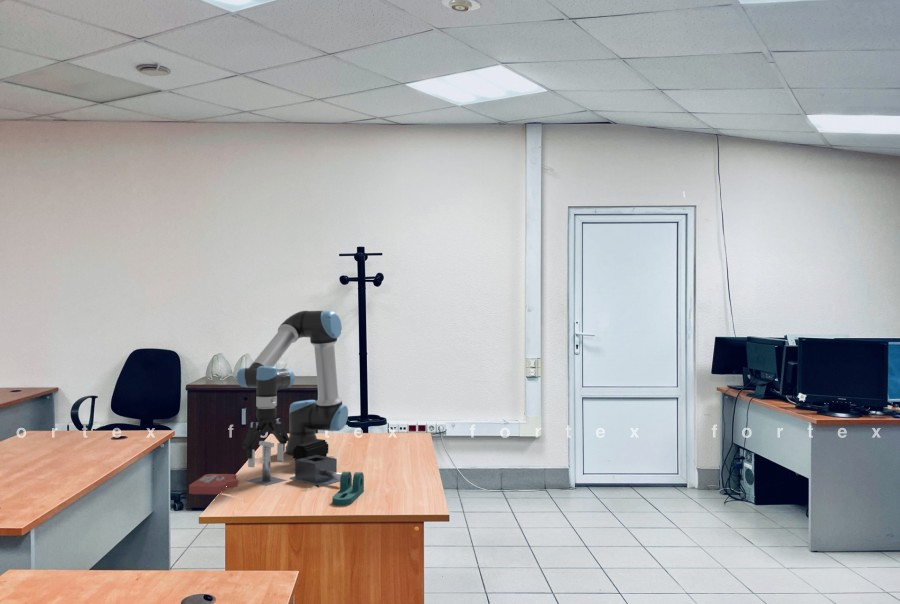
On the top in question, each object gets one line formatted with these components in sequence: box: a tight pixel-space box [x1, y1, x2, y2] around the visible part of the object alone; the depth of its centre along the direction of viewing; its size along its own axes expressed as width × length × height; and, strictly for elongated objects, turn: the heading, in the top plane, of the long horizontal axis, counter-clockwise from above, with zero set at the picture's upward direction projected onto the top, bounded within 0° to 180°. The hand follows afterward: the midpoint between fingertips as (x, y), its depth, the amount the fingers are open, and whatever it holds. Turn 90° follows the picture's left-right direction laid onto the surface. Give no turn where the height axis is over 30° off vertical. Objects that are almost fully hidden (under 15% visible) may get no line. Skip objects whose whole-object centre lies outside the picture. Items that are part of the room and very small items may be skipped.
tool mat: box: [245, 476, 288, 487], centre depth 264 cm, size 12×10×1 cm
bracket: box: [331, 471, 365, 507], centre depth 243 cm, size 18×7×8 cm, turn 171°
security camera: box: [292, 438, 329, 461], centre depth 290 cm, size 7×18×10 cm, turn 155°
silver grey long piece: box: [258, 440, 275, 481], centre depth 264 cm, size 7×3×14 cm, turn 54°
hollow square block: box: [289, 455, 342, 488], centre depth 265 cm, size 22×12×8 cm, turn 54°
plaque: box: [188, 473, 239, 495], centre depth 256 cm, size 18×4×15 cm
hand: (266, 463), depth 264 cm, fingers open, 13 cm apart
